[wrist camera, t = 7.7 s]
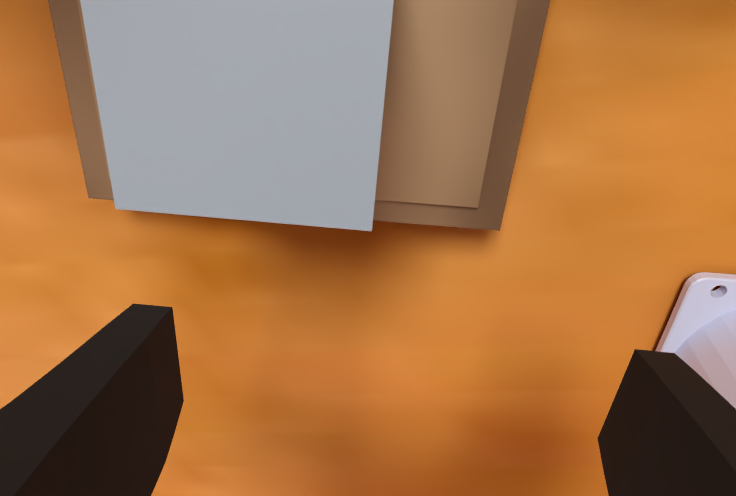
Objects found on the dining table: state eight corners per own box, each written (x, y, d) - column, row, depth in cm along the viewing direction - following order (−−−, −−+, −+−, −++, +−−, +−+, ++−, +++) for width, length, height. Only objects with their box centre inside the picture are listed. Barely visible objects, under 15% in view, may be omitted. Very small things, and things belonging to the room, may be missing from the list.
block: (397, -88, 13) (398, -51, 8) (379, 110, 16) (371, 230, 11) (191, -106, 13) (66, -82, 8) (205, 95, 16) (115, 209, 11)
